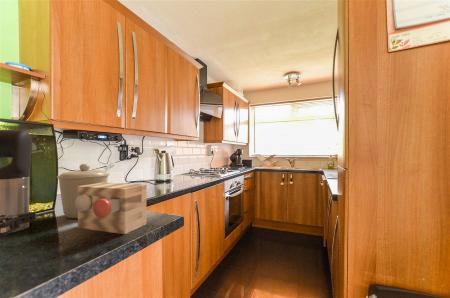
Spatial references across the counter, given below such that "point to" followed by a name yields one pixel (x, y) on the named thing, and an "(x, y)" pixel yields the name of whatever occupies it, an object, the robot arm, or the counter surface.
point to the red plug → (106, 206)
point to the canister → (71, 183)
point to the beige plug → (83, 202)
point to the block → (120, 220)
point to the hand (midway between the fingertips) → (33, 215)
